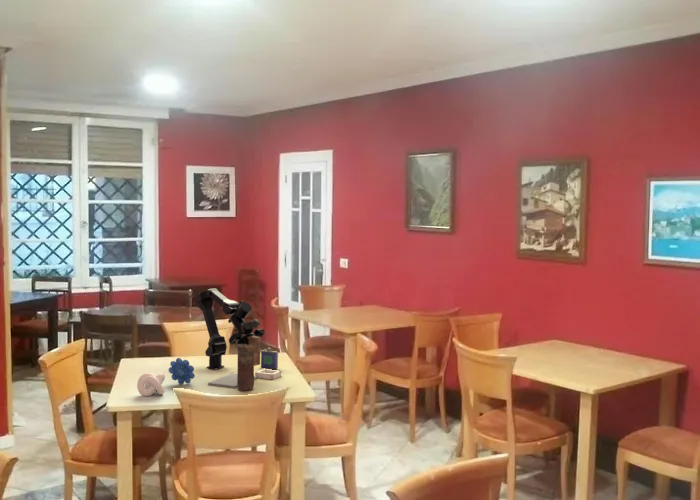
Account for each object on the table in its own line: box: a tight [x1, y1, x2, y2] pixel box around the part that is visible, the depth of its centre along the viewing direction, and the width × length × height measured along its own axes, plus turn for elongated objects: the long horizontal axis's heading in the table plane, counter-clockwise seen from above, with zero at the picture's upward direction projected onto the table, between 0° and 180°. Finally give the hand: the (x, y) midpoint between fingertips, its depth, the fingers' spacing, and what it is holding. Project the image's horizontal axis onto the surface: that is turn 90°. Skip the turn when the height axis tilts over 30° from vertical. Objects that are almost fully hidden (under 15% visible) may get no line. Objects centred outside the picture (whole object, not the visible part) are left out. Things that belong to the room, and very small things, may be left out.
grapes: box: [168, 357, 196, 385], centre depth 314 cm, size 12×7×12 cm, turn 95°
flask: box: [260, 347, 279, 370], centre depth 348 cm, size 9×3×11 cm, turn 68°
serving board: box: [207, 372, 259, 389], centre depth 322 cm, size 20×14×1 cm
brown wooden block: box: [247, 336, 262, 367], centre depth 327 cm, size 4×5×13 cm
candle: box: [236, 344, 255, 392], centre depth 308 cm, size 8×7×20 cm
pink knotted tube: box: [136, 372, 166, 397], centre depth 298 cm, size 11×12×9 cm
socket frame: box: [254, 368, 282, 380], centre depth 331 cm, size 8×9×2 cm
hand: (255, 350), depth 326 cm, fingers closed on brown wooden block, 4 cm apart
